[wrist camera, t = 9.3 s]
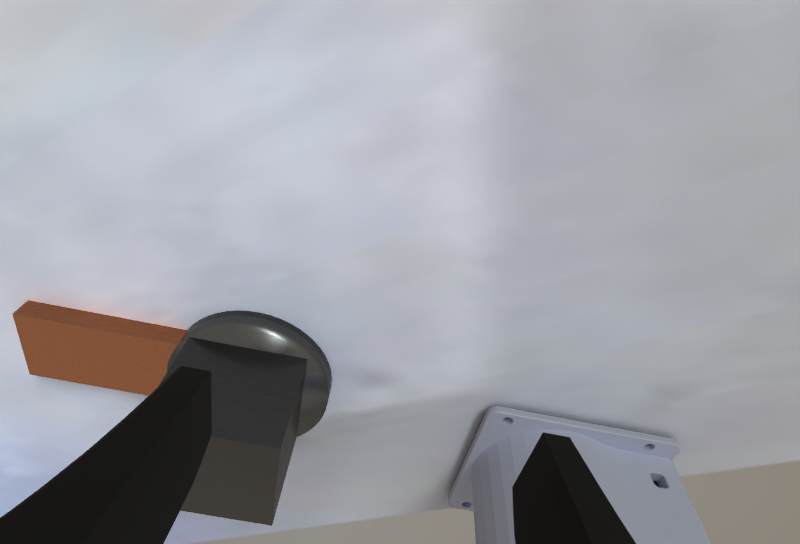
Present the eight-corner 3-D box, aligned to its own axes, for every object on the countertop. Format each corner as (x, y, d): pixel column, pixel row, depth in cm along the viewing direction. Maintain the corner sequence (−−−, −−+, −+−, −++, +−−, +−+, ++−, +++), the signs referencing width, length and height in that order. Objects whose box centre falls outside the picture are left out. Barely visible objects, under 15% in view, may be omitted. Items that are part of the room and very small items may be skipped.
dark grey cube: (307, 359, 21) (280, 448, 17) (297, 434, 24) (272, 525, 20) (188, 337, 21) (135, 423, 17) (192, 415, 24) (146, 504, 20)
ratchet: (341, 327, 22) (326, 391, 19) (322, 433, 26) (307, 500, 23) (19, 265, 21) (-53, 321, 18) (50, 385, 25) (-4, 448, 22)
